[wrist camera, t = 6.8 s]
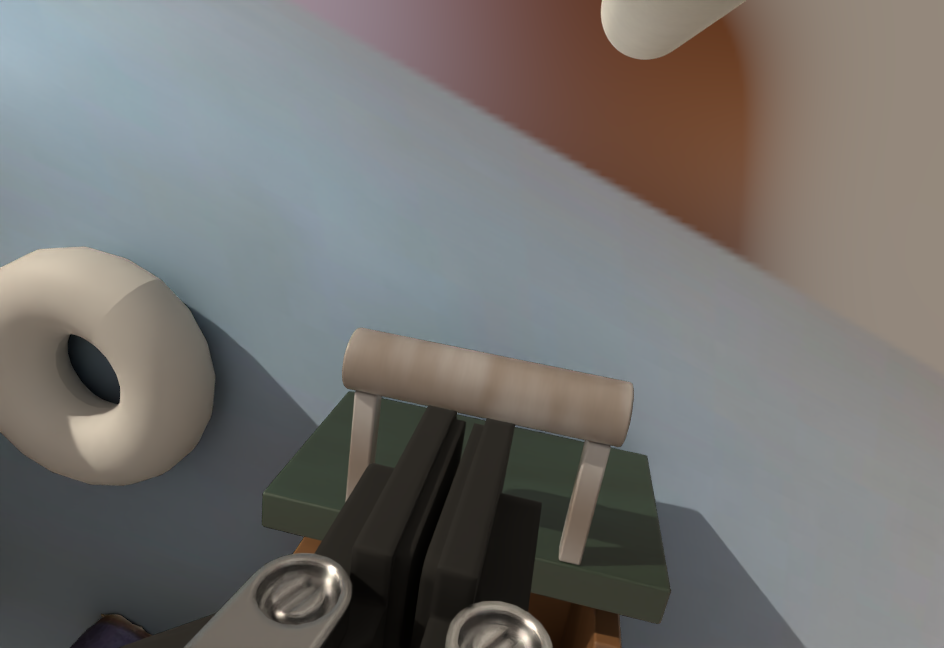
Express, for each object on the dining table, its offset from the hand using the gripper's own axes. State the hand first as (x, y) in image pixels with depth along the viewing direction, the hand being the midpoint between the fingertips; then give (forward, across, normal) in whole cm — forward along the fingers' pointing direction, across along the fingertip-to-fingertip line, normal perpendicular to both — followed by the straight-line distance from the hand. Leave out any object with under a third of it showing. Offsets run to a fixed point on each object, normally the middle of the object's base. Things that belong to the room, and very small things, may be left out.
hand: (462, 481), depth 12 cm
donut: (+11, +16, +6) cm, 21 cm away
